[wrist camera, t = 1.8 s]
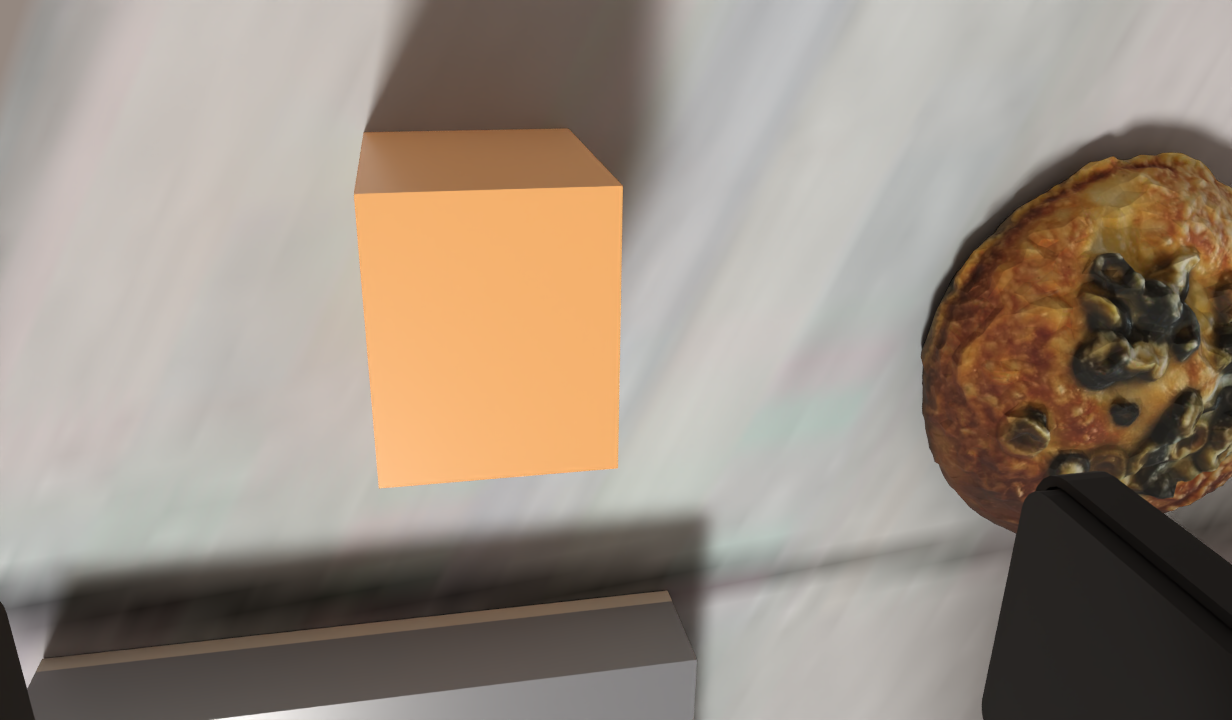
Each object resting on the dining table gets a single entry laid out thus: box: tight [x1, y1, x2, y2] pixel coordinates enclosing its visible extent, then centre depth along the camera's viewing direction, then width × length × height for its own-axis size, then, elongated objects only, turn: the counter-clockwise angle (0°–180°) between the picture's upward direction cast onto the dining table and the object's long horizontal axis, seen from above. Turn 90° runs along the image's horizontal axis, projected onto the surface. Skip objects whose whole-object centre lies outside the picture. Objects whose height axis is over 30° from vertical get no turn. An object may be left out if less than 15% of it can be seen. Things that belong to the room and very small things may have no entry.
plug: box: [354, 128, 623, 488], centre depth 21 cm, size 4×6×6 cm
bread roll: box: [921, 152, 1232, 534], centre depth 27 cm, size 11×11×5 cm
